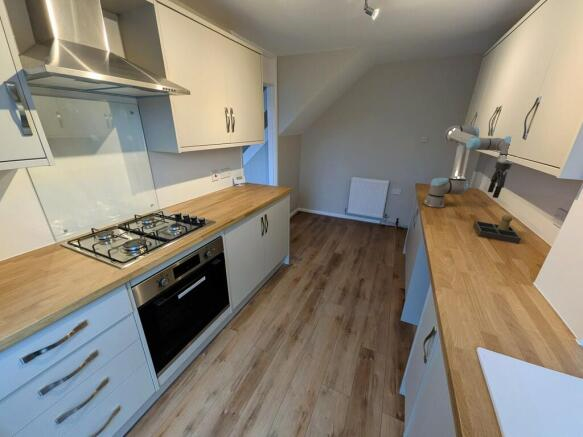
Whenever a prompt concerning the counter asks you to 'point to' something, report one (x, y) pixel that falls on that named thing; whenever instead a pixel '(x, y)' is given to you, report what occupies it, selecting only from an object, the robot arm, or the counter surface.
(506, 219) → the cork
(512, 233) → the grid
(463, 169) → the robot arm
